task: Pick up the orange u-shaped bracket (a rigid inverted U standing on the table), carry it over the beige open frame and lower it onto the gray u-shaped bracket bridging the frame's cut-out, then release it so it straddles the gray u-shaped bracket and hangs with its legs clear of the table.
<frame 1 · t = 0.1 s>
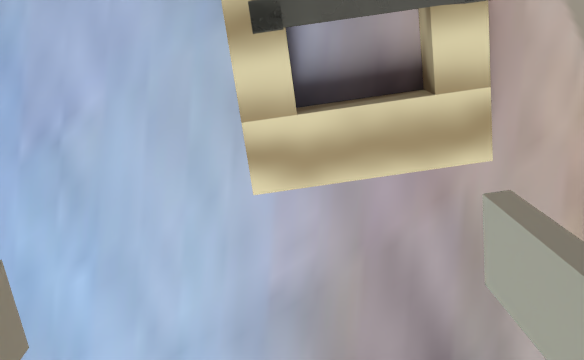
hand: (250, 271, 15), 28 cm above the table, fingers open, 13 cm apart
beige open frame: (349, 3, 40), on the table
gray u-shaped bracket: (360, 2, 35), in the beige open frame
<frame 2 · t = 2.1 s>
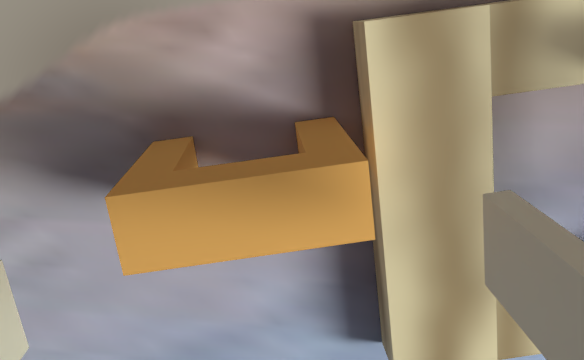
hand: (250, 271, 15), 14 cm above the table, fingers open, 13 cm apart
orange u-shaped bracket: (248, 157, 28), on the table
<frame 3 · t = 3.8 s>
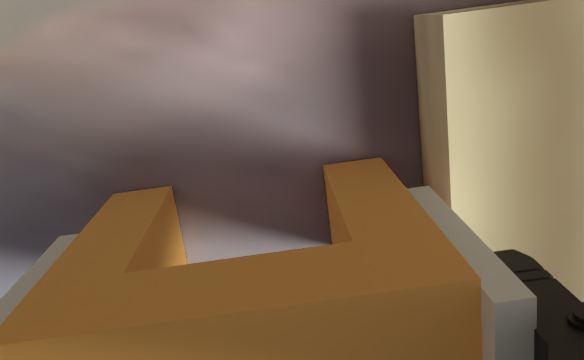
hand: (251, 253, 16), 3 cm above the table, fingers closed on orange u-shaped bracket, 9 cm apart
orange u-shaped bracket: (253, 216, 19), on the table, touching gripper
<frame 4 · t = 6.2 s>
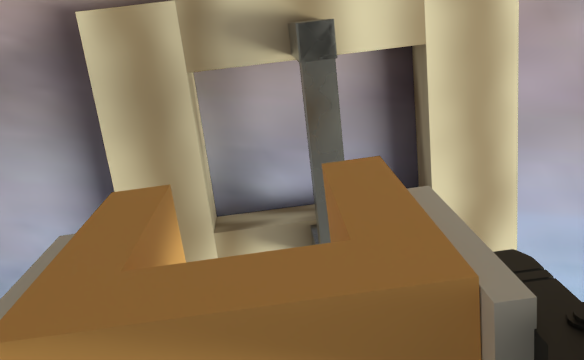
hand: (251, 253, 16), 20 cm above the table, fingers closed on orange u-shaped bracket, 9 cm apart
orange u-shaped bracket: (252, 215, 19), point 17 cm above the table, touching gripper
beige open frame: (311, 132, 36), on the table
gray u-shaped bracket: (318, 147, 31), in the beige open frame
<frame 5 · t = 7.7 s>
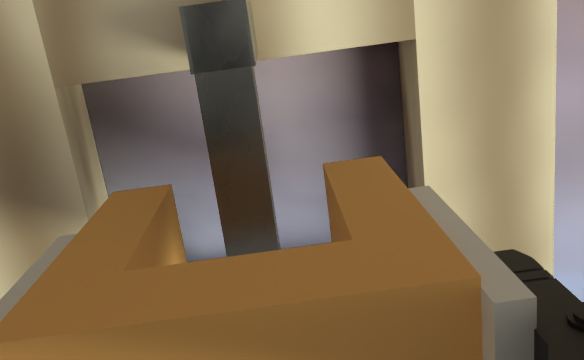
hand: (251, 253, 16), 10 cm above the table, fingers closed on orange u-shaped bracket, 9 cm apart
orange u-shaped bracket: (253, 214, 19), point 7 cm above the table, touching gripper
beige open frame: (256, 167, 25), on the table
gray u-shaped bracket: (254, 198, 21), in the beige open frame
when the fingers open (7 cm above the table, at t = 8.9 s): orange u-shaped bracket stays where it is, resting on gray u-shaped bracket.
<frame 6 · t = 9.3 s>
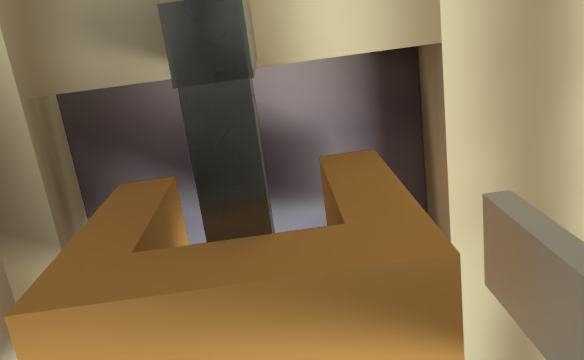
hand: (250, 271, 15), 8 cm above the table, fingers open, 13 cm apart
orange u-shaped bracket: (253, 205, 20), point 2 cm above the table, touching gray u-shaped bracket
beige open frame: (255, 187, 22), on the table
gray u-shaped bracket: (253, 227, 18), in the beige open frame
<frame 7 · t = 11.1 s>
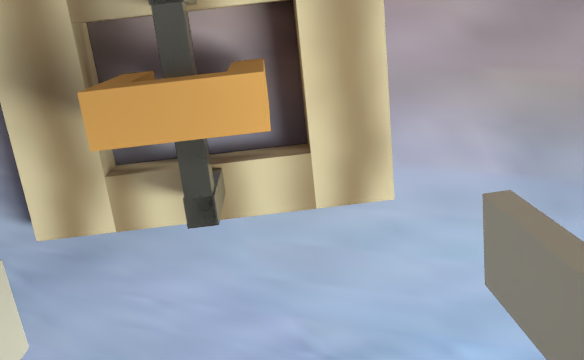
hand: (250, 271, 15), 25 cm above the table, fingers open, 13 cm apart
orange u-shaped bracket: (196, 89, 36), point 2 cm above the table, touching gray u-shaped bracket
beige open frame: (201, 85, 38), on the table
gray u-shaped bracket: (193, 94, 34), in the beige open frame
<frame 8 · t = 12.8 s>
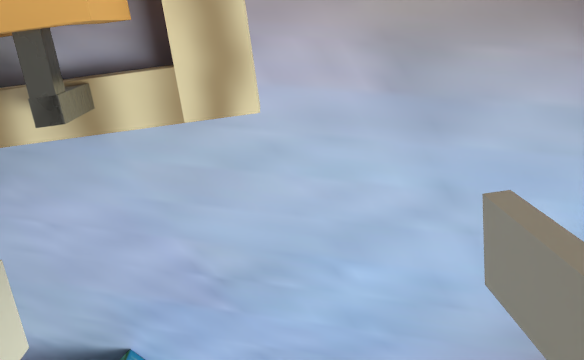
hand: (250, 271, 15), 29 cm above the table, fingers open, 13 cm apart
orange u-shaped bracket: (59, 5, 37), point 2 cm above the table, touching gray u-shaped bracket
beige open frame: (72, 7, 40), on the table
gray u-shaped bracket: (48, 5, 35), in the beige open frame
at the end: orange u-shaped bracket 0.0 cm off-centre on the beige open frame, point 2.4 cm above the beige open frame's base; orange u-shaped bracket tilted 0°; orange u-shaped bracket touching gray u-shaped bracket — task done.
